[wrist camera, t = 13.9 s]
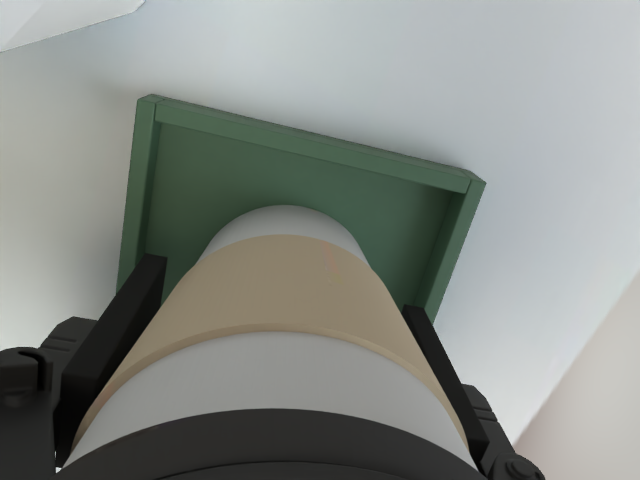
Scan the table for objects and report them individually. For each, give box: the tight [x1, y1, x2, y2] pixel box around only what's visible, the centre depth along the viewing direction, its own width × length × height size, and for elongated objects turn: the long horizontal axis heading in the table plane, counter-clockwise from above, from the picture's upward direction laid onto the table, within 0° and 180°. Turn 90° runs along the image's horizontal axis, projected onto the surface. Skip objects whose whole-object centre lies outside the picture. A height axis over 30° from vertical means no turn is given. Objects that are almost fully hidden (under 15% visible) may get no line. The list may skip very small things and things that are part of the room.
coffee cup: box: [48, 205, 488, 480], centre depth 13 cm, size 9×9×15 cm
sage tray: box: [116, 94, 486, 325], centre depth 20 cm, size 12×12×2 cm
